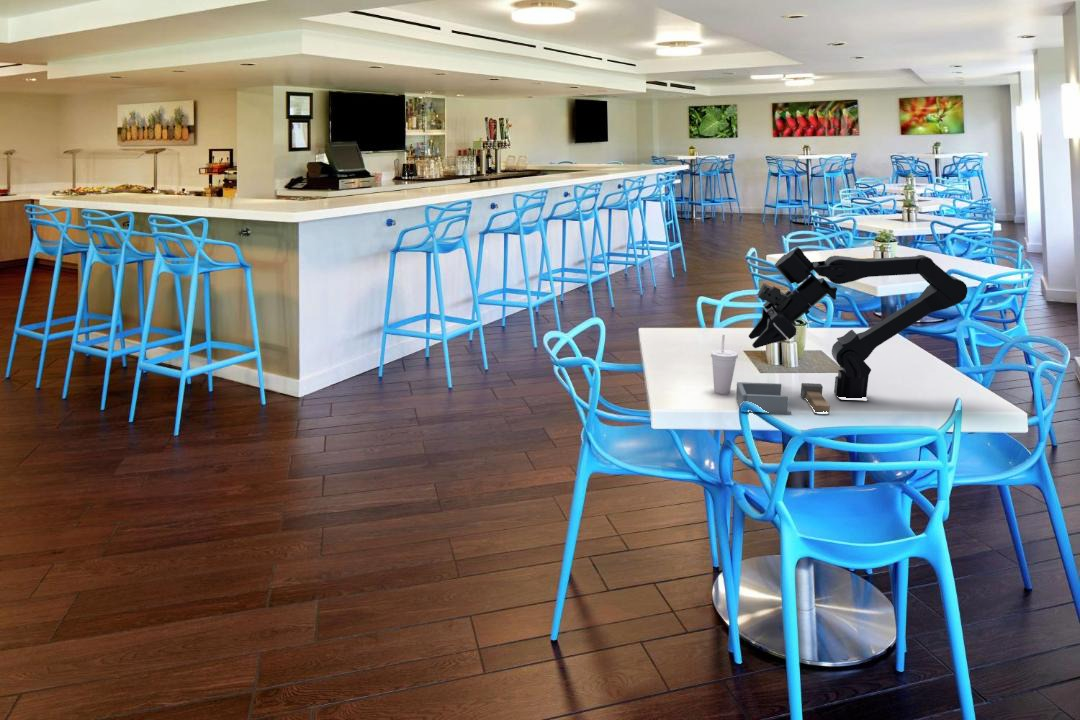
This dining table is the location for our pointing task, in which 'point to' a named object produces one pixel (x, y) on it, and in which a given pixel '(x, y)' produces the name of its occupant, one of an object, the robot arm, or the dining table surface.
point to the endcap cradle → (763, 396)
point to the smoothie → (723, 368)
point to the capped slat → (814, 396)
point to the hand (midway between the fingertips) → (751, 342)
